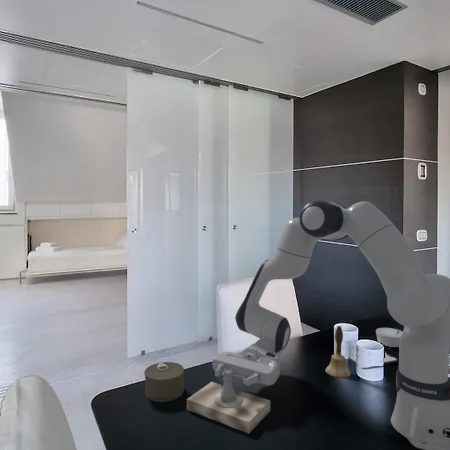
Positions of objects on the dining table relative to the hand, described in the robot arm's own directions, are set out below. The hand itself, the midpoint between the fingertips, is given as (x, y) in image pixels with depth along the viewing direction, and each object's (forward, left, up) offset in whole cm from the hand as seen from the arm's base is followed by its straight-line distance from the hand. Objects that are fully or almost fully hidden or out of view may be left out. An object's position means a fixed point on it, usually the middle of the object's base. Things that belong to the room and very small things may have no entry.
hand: (230, 378), depth 103 cm
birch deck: (0, +1, -9) cm, 9 cm away
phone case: (-27, -54, -9) cm, 61 cm away
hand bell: (-19, -39, -9) cm, 44 cm away
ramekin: (-30, -75, -9) cm, 81 cm away
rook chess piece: (0, +1, -6) cm, 6 cm away
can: (+22, +3, -9) cm, 24 cm away
